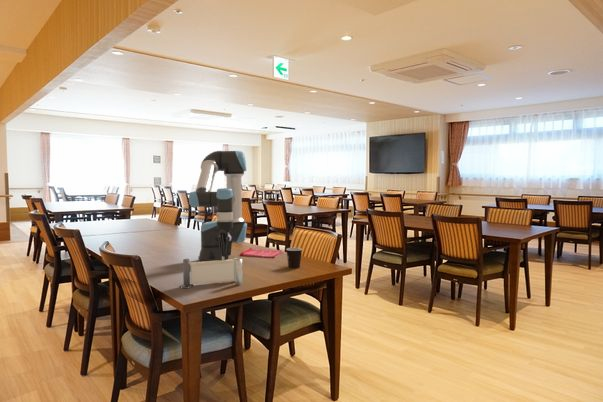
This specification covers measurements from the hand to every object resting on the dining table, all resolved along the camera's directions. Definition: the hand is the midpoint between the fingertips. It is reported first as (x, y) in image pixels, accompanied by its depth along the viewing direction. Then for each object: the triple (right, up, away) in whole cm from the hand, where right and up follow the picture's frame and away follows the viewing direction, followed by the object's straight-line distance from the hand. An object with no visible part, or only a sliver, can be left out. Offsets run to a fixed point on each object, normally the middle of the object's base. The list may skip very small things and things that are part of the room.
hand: (225, 269), depth 191 cm
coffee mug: (+33, -4, +30) cm, 45 cm away
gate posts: (-5, -6, -8) cm, 11 cm away
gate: (-5, -5, -6) cm, 9 cm away
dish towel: (+11, -2, +62) cm, 63 cm away
